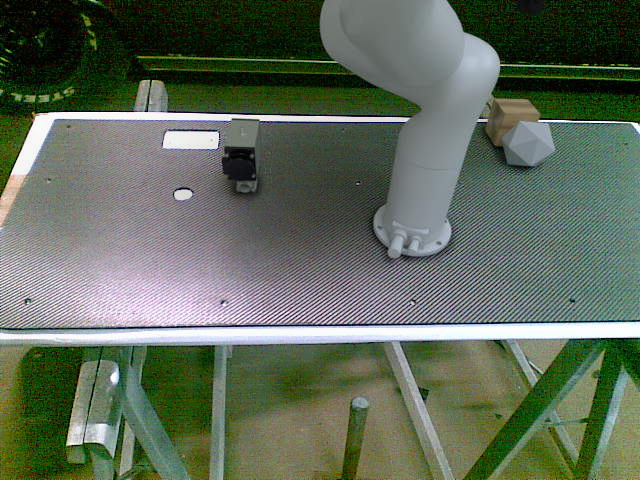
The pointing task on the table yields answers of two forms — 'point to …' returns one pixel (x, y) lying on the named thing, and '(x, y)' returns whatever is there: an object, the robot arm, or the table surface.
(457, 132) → the robot arm
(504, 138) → the die
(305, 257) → the table surface
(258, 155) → the pneumatic valve
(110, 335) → the table surface
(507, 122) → the maple block
